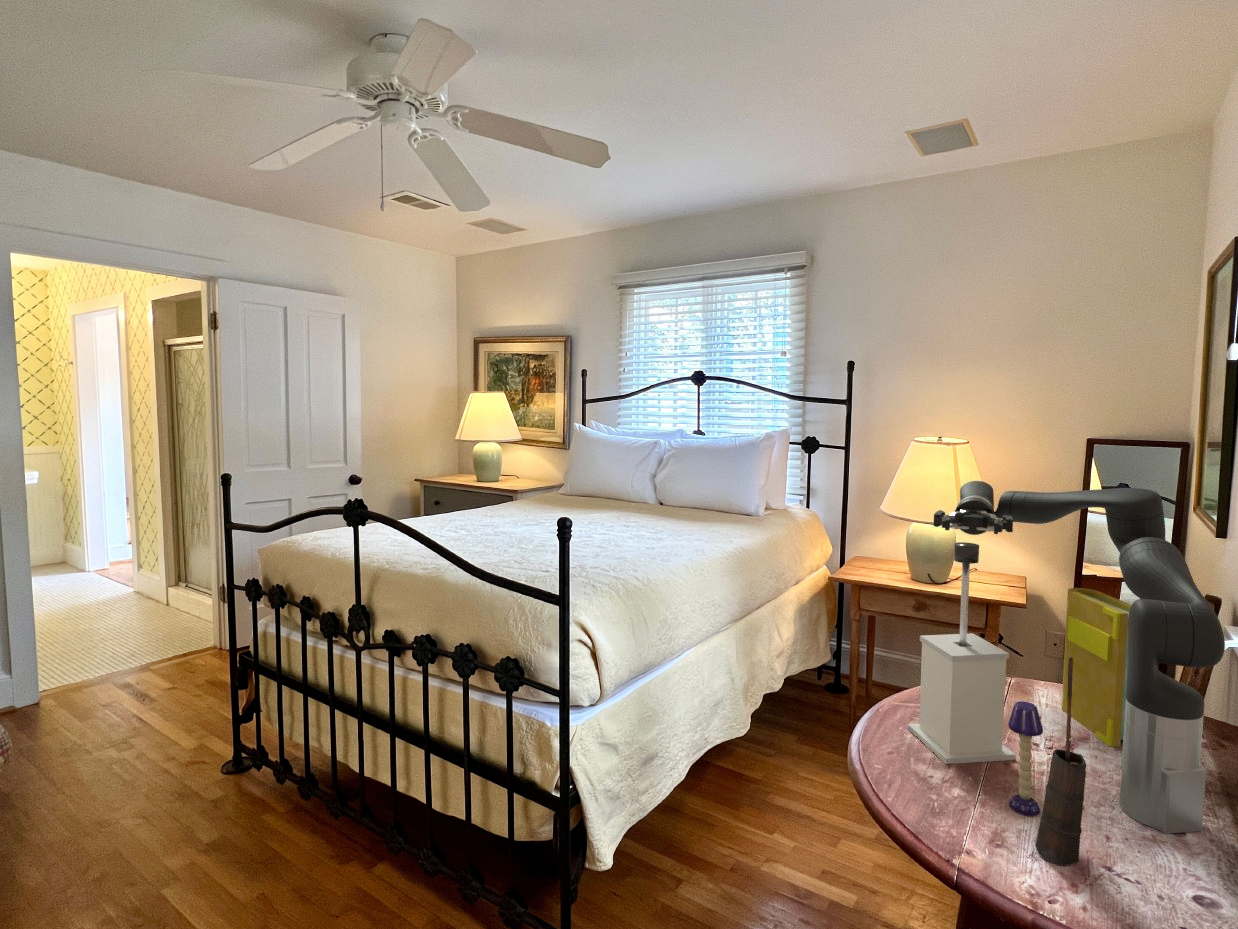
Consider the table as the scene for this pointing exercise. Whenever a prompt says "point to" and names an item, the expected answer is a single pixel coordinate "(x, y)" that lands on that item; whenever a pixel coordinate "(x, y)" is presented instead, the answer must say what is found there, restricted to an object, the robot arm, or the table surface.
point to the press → (962, 699)
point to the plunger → (965, 581)
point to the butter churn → (1063, 800)
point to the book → (1097, 662)
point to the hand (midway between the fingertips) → (971, 527)
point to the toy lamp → (1025, 755)
